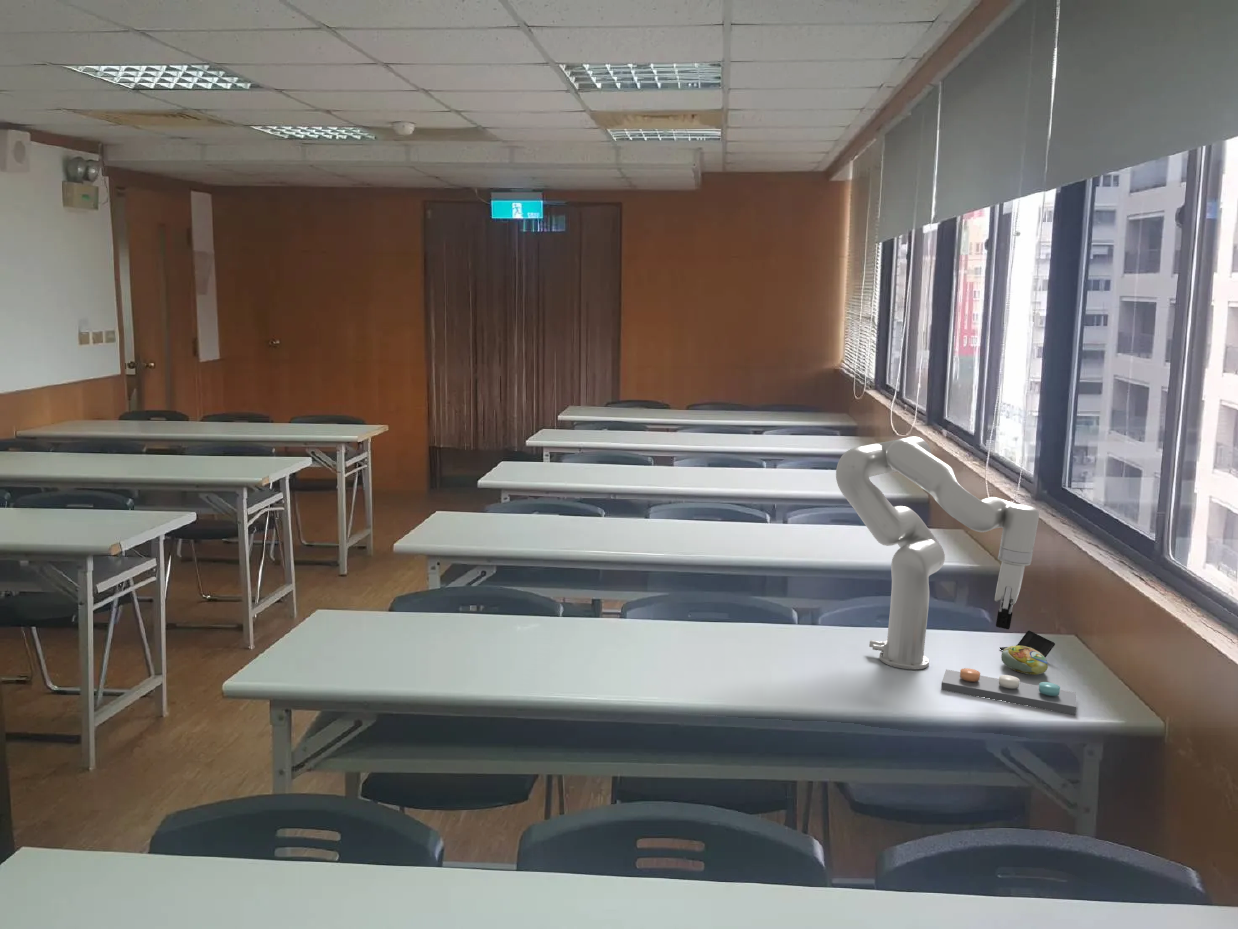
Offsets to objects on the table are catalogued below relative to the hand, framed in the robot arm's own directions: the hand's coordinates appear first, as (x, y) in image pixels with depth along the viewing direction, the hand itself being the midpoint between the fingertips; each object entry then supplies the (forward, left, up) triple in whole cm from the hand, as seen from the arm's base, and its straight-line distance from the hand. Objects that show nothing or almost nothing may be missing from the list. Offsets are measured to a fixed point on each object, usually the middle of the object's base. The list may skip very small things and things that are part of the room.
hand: (1002, 627), depth 248 cm
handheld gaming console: (+6, +29, -16) cm, 33 cm away
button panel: (+3, -5, -15) cm, 16 cm away
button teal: (+12, -5, -13) cm, 18 cm away
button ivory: (+3, -5, -13) cm, 14 cm away
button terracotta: (-6, -5, -13) cm, 15 cm away
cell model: (+6, +17, -15) cm, 23 cm away
